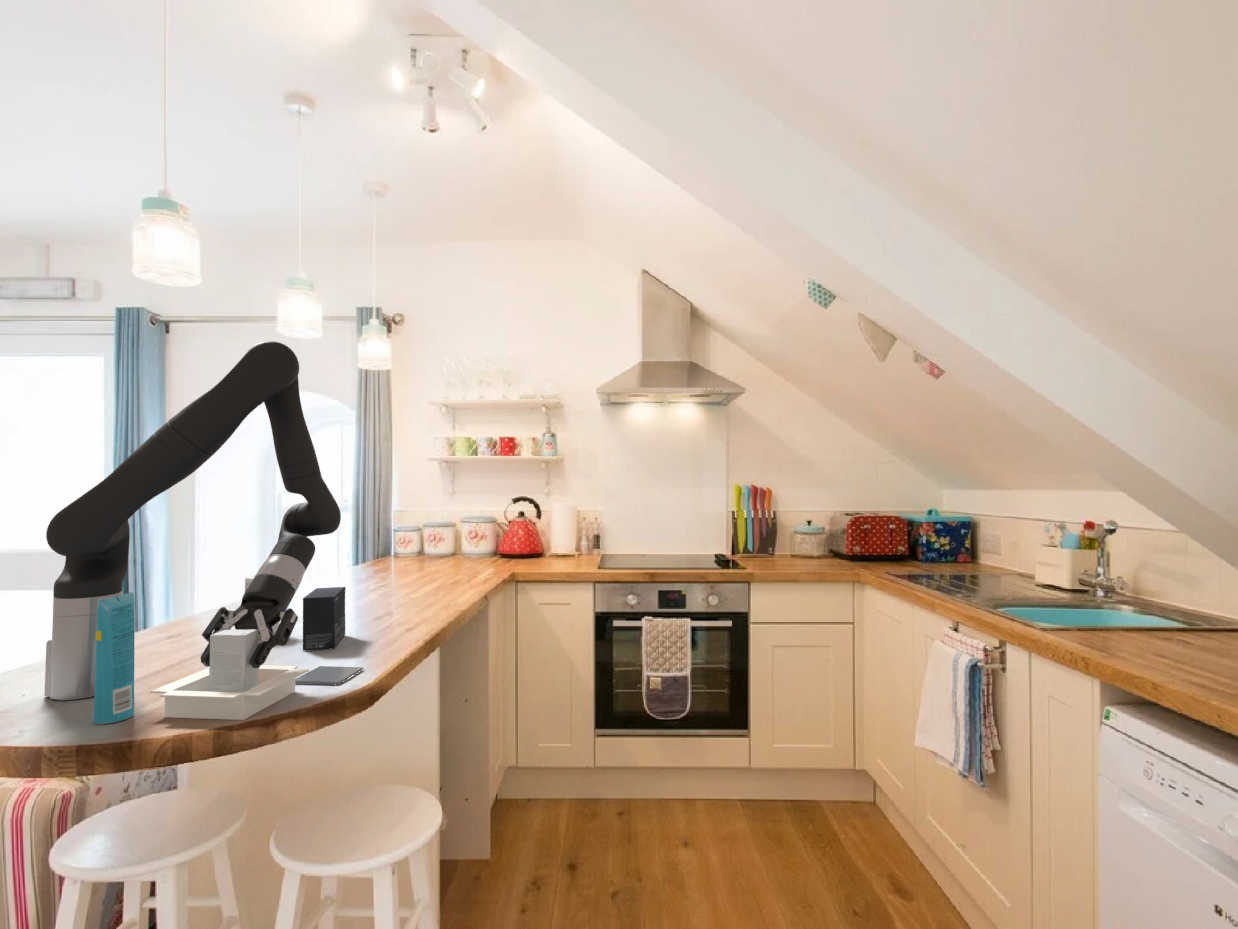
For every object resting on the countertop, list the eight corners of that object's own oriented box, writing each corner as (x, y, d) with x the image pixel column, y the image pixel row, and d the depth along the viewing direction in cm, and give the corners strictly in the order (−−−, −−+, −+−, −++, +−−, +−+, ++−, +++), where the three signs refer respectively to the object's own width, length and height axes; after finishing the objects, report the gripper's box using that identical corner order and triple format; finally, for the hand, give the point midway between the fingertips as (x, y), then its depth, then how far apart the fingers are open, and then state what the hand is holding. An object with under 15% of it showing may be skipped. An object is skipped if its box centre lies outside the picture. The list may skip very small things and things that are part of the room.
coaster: (292, 683, 112) (292, 680, 112) (319, 669, 121) (319, 666, 121) (338, 685, 111) (338, 682, 111) (363, 670, 120) (363, 667, 120)
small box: (315, 637, 146) (316, 587, 147) (345, 635, 148) (346, 586, 149) (301, 651, 134) (302, 597, 134) (334, 649, 136) (335, 595, 136)
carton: (141, 720, 94) (142, 694, 94) (218, 686, 110) (218, 664, 111) (251, 724, 93) (252, 698, 93) (313, 689, 109) (313, 666, 109)
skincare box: (259, 699, 104) (260, 628, 104) (244, 708, 100) (246, 634, 100) (223, 699, 104) (224, 629, 104) (206, 708, 99) (208, 635, 100)
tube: (110, 711, 98) (114, 592, 99) (144, 709, 99) (148, 591, 100) (79, 729, 91) (84, 600, 91) (116, 727, 92) (120, 599, 92)
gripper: (229, 572, 110) (176, 652, 99) (303, 572, 109) (259, 654, 97) (248, 596, 116) (200, 675, 104) (319, 597, 114) (279, 677, 103)
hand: (229, 665), depth 101 cm, fingers open, 8 cm apart
